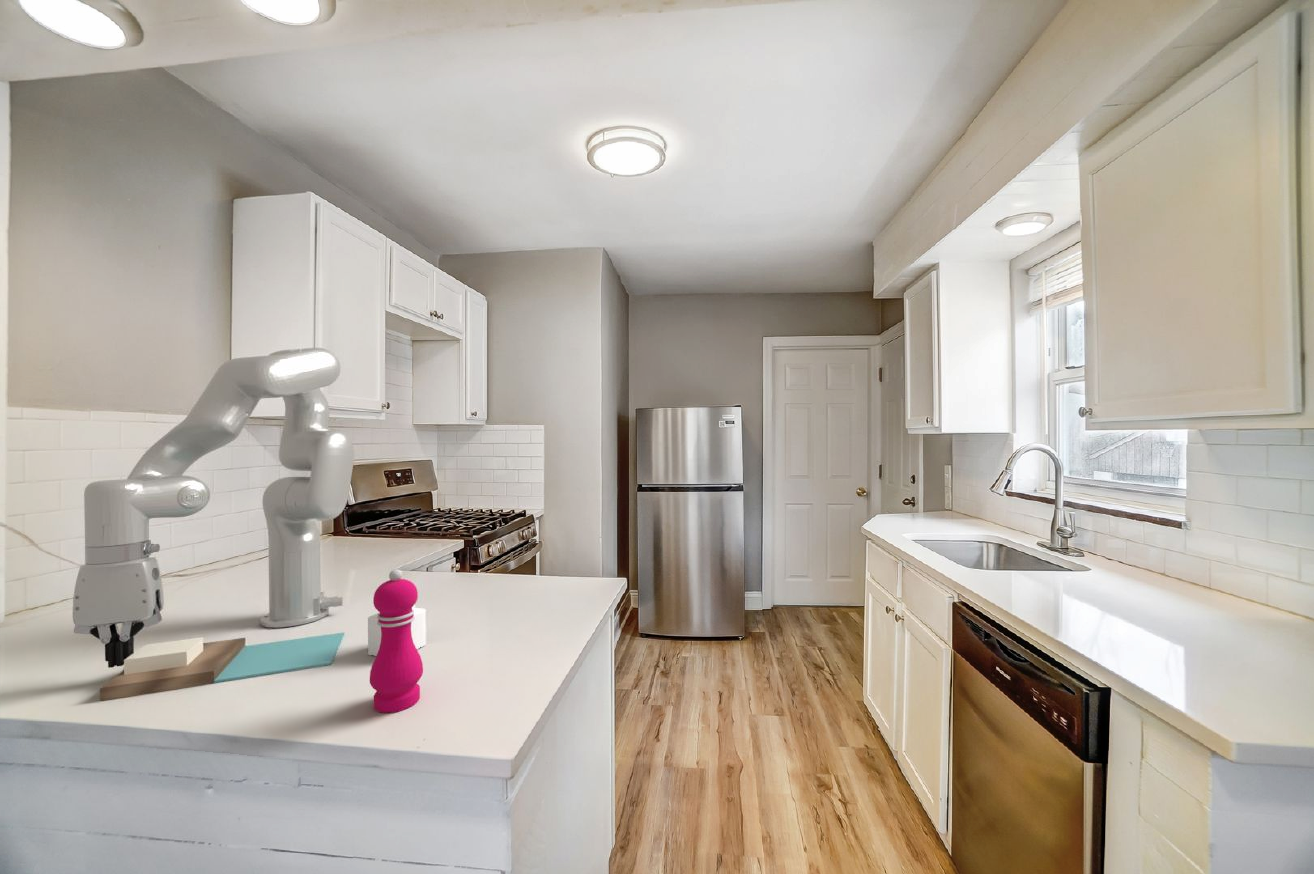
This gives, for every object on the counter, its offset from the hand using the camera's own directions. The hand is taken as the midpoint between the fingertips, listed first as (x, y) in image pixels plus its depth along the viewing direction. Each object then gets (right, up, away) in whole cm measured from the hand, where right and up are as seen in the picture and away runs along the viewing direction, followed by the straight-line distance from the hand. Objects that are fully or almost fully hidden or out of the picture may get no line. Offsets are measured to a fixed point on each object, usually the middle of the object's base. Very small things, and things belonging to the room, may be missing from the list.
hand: (119, 663), depth 88 cm
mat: (+21, -3, +9) cm, 23 cm away
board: (+7, -3, +3) cm, 8 cm away
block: (+6, 0, +2) cm, 6 cm away
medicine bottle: (+41, -3, +11) cm, 43 cm away
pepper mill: (+51, -2, -9) cm, 51 cm away
